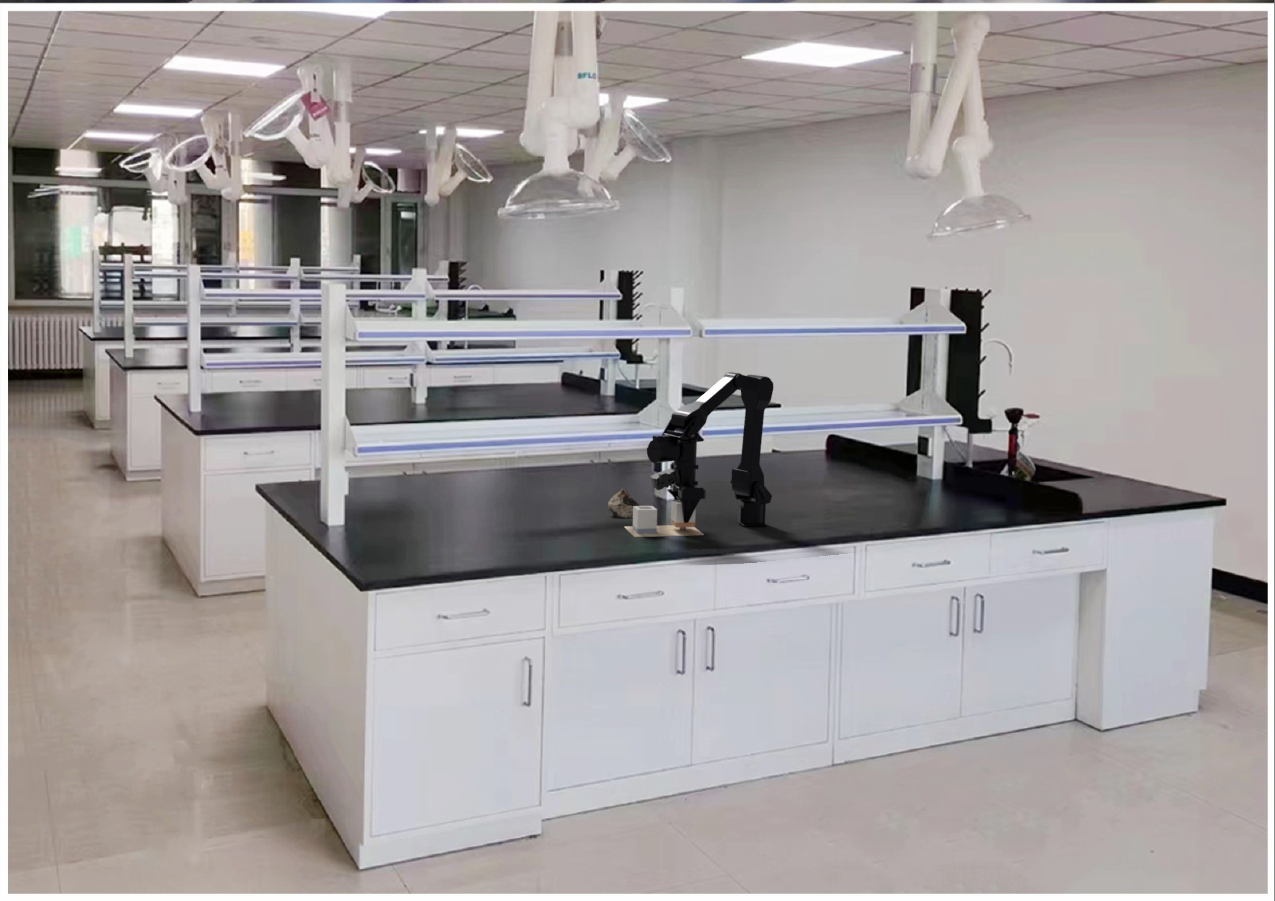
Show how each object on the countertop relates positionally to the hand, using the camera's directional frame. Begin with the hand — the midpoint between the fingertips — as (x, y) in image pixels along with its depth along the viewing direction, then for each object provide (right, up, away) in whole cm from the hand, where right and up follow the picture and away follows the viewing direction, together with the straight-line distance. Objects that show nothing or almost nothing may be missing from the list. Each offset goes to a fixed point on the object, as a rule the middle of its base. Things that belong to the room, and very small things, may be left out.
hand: (683, 520), depth 324 cm
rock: (-15, -1, +18) cm, 23 cm away
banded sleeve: (0, -1, 0) cm, 1 cm away
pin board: (-5, -4, -1) cm, 6 cm away
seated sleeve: (-10, -3, -2) cm, 10 cm away
